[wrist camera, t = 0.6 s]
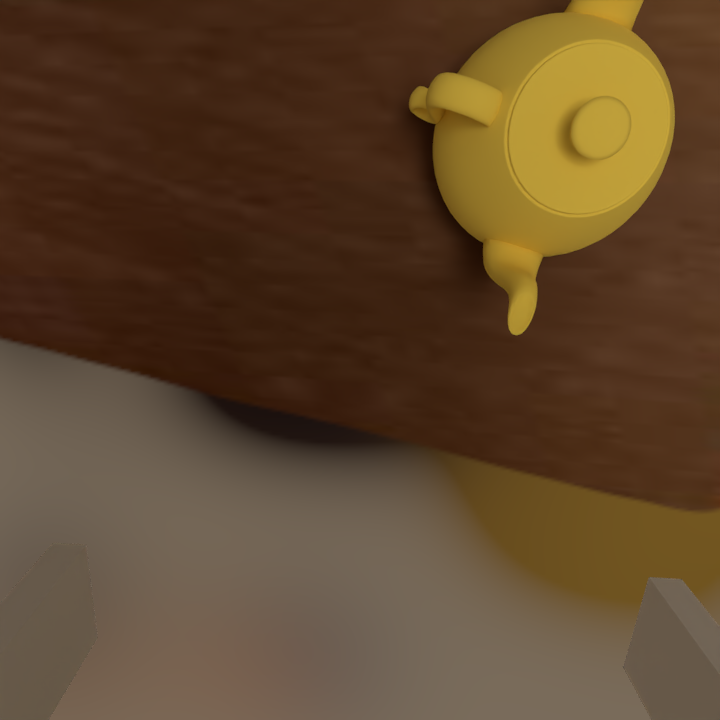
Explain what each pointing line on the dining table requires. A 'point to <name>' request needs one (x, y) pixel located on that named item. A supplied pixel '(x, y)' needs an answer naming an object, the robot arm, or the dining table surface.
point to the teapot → (549, 138)
